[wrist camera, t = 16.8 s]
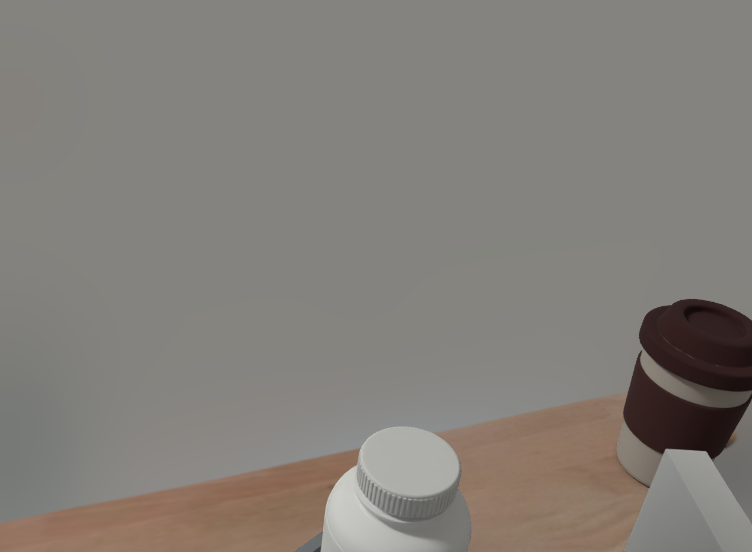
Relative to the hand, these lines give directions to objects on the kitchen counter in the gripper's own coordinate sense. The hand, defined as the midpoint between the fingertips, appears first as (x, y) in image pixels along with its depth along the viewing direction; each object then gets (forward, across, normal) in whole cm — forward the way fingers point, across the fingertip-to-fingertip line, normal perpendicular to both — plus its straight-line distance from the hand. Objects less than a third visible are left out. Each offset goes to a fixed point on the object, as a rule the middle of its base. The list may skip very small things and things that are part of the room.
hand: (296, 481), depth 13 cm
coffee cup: (+36, +31, -32) cm, 58 cm away
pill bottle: (+18, +6, -31) cm, 36 cm away
